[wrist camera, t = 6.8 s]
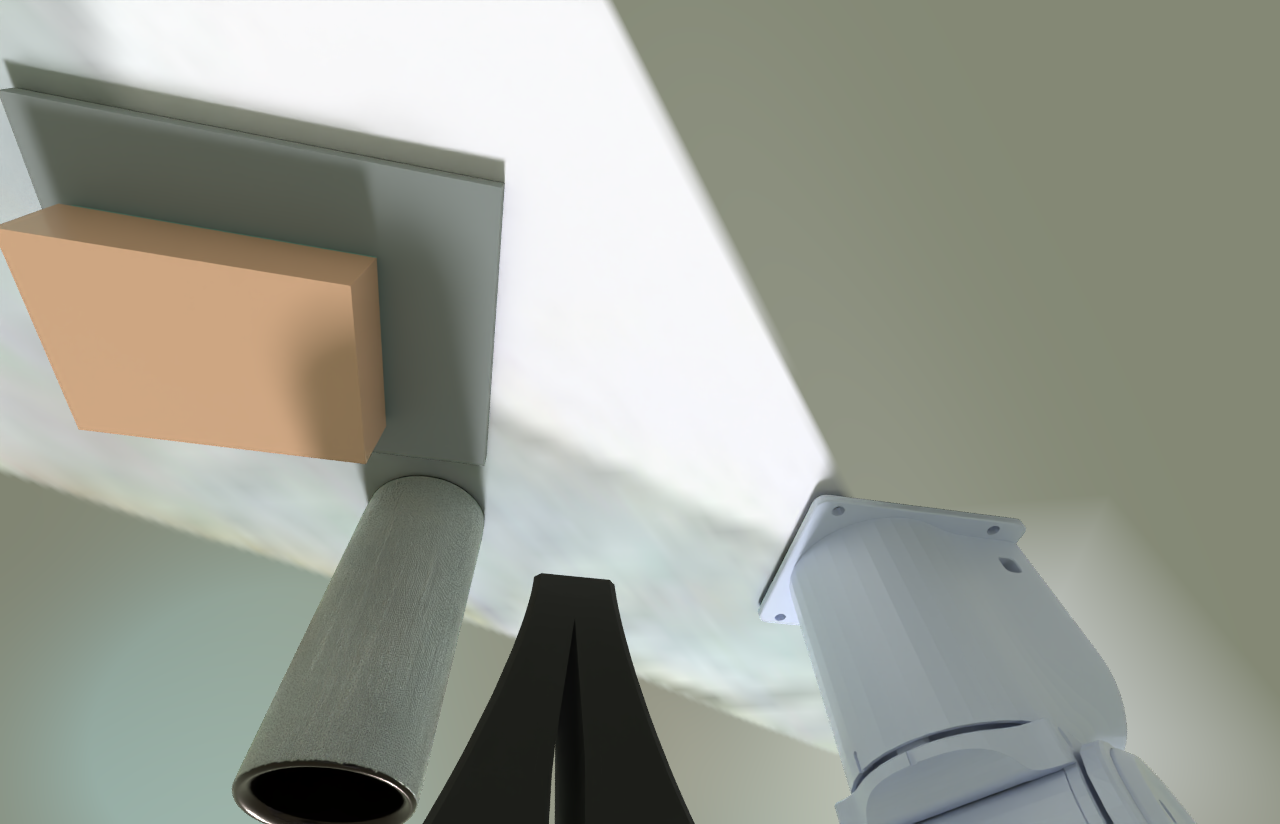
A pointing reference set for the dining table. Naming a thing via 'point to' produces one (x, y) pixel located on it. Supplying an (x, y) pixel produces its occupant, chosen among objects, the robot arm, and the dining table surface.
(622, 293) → the dining table surface
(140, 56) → the dining table surface
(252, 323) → the tile
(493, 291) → the mat
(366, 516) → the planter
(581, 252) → the dining table surface
